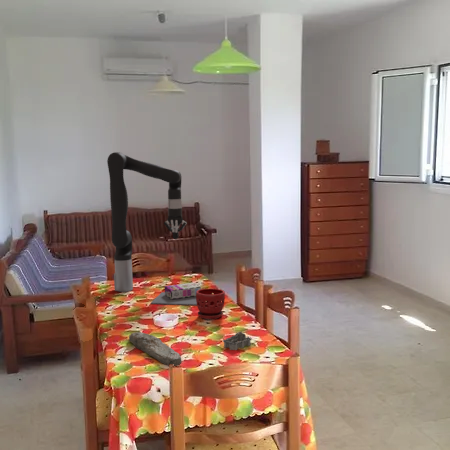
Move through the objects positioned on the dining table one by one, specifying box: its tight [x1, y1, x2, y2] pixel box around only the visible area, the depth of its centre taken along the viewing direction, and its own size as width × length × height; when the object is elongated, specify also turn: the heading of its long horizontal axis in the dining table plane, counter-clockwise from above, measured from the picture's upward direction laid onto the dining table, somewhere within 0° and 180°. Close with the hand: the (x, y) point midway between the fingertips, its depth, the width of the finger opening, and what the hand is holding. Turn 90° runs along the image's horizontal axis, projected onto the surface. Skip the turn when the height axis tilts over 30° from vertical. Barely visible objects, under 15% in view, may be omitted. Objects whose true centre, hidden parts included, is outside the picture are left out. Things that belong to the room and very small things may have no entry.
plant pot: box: [196, 288, 226, 320], centre depth 246 cm, size 13×13×12 cm
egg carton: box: [221, 331, 253, 351], centre depth 210 cm, size 11×8×4 cm
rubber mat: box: [150, 291, 197, 306], centre depth 276 cm, size 24×20×1 cm
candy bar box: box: [164, 282, 202, 299], centre depth 280 cm, size 11×5×16 cm
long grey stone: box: [128, 331, 182, 366], centre depth 206 cm, size 35×5×10 cm
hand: (175, 238), depth 291 cm, fingers closed
